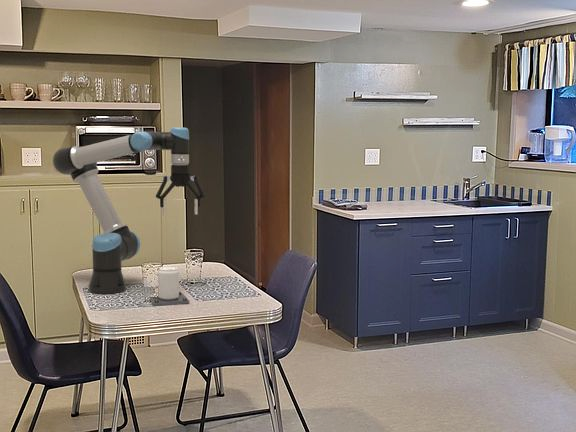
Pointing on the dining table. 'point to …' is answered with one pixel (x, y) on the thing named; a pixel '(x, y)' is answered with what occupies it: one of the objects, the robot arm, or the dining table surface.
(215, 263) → the dining table surface
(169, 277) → the beverage can
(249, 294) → the dining table surface
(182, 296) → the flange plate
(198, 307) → the dining table surface
